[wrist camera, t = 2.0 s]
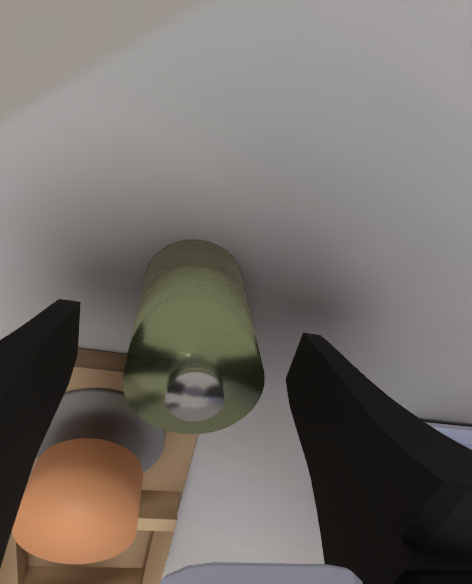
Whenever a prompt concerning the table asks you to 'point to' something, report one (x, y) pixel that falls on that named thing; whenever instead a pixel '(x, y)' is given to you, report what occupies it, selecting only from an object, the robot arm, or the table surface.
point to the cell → (193, 343)
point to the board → (155, 487)
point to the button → (80, 502)
